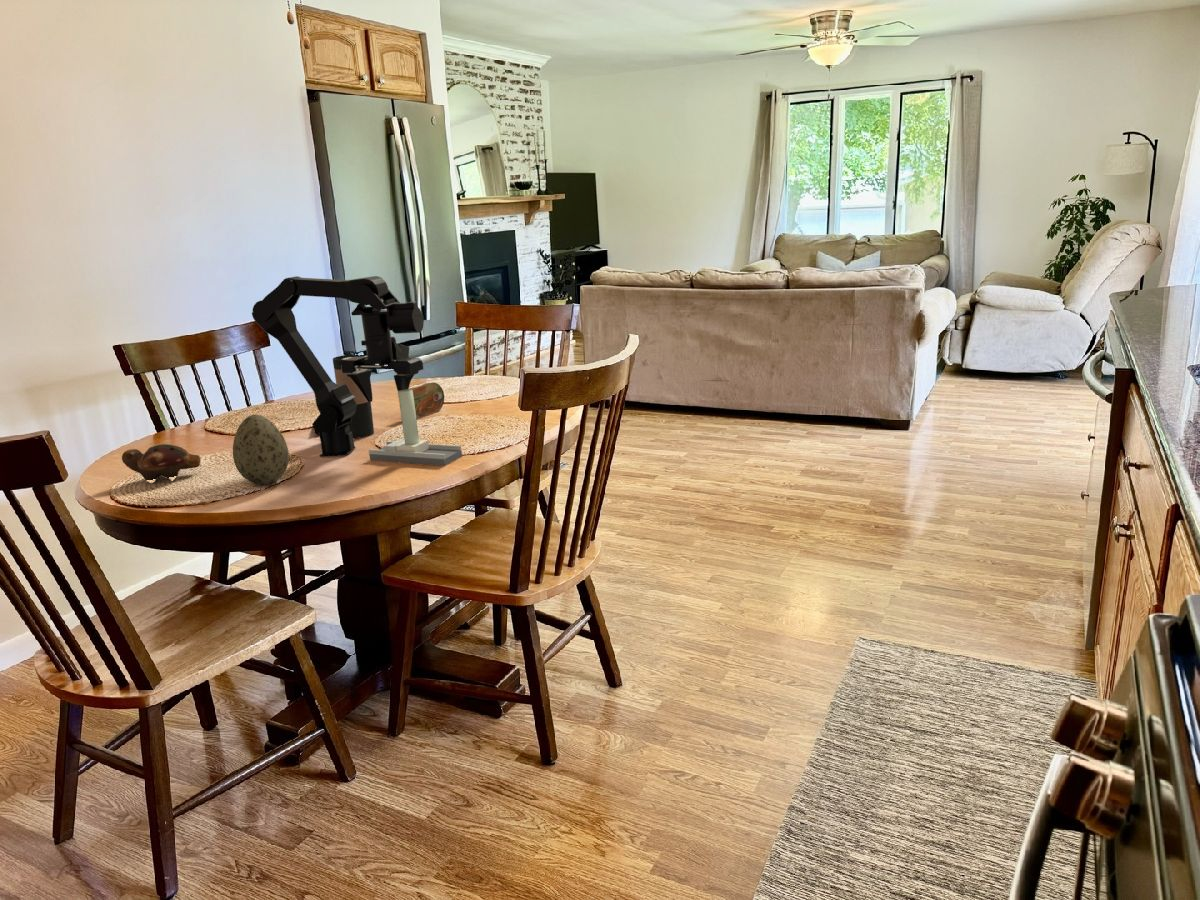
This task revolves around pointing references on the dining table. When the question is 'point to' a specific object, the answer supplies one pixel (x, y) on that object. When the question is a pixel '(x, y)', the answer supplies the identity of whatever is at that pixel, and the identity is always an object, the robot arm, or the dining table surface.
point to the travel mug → (363, 414)
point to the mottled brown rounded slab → (427, 399)
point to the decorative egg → (260, 450)
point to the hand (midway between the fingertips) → (386, 402)
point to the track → (417, 454)
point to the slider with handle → (410, 424)
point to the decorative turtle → (160, 461)
